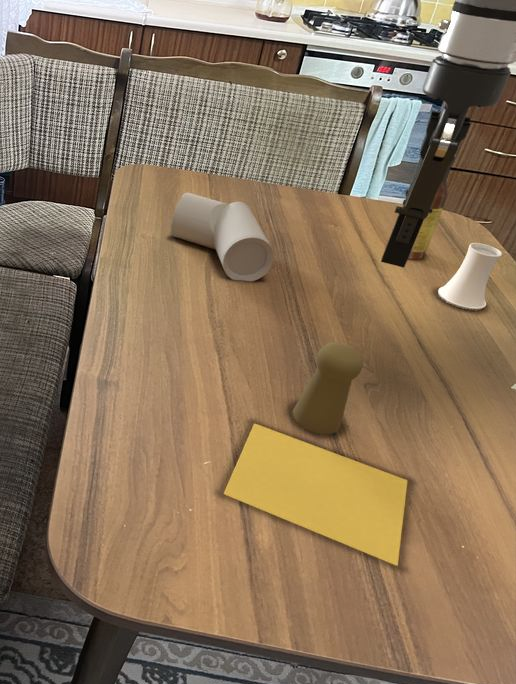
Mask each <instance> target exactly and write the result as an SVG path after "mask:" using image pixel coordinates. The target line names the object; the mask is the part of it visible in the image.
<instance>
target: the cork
mask: <svg viewBox="0 0 516 684" xmlns="http://www.w3.org/2000/svg"><path fill="white" fill-rule="evenodd" d="M315 364H316V369H315V371H314V373H313V375H312V377H310V379H309V381H308V383H307V385H306V387H305V389H304V390H303V392H302V394H301V395H300V397H299V399H298V400H297V403H296V404H295V406H294V408H293V410H292V417H293V418H294V420H295V422H297V423H298V424H299V426H301V427H303V428H304V429H306V430H307V431H309V432H313V433H316V434H320V435H331V434H335V433H337V432H338V431H340V429H341V426H342V422H343V417H344V414H345V409H346V405H347V401H348V397H349V394H350V390H351V385H352V381H353V380H355V379H356V378H357V377H358V376H360V374H361V372H362V369H363V367H364V360H363V357H362V354H361V353H360V351H358V350H357V349H355V348H354V347H353V346H351V345H349V344H346V343H342V342H329V343H327V344H325V345H323V346H322V347H321V348H320V349H319V350H318V353H317V354H316V358H315Z"/></svg>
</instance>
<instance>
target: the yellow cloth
mask: <svg viewBox="0 0 516 684" xmlns="http://www.w3.org/2000/svg"><path fill="white" fill-rule="evenodd" d="M238 457H239V458H238V460H237V462H236V465H235V467H234V469H233V471H232V473H231V476H230V478H229V480H228V483H227V485H226V487H225V489H224V492H223V495H224V496H227V497H229V498H231V499H232V498H233V499H234V500H237V501H239V502H241V503H244V504H246V505H248V506H251V507H253V508H256V509H258V510H261V511H263V512H266V513H268V514H270V515H273V516H275V517H277V518H280V519H282V520H285V521H287V522H289V523H292V524H294V525H296V526H299V527H301V528H304V529H307V530H309V531H311V532H314V533H316V534H318V535H321V536H323V537H326V538H327V539H330V540H333V541H336V542H337V543H341V544H343V545H344V546H348V547H349V548H352V549H354V550H357V551H360V552H362V553H364V554H367V555H369V556H372V557H374V558H376V559H379V560H381V561H384V562H386V563H389V564H390V565H392V566H393V565H394V566H395V567H398V566H399V558H400V550H401V539H402V531H403V523H404V515H405V506H406V498H407V497H406V496H407V489H408V488H407V487H408V479H406V478H402V477H400V476H397V475H395V474H392V473H389V472H387V471H383V470H381V469H379V468H375V467H373V466H370V465H367V464H366V463H362V462H359V461H357V460H354V459H352V458H349V457H346V456H343V455H340V454H338V453H335V452H333V451H330V450H327V449H324V448H322V447H319V446H317V445H314V444H311V443H308V442H305V441H303V440H300V439H298V438H295V437H292V436H289V435H287V434H284V433H282V432H278V431H277V430H273V429H271V428H269V427H265V426H263V425H261V424H257V423H255V422H254V423H253V426H252V428H251V430H250V432H249V434H248V437H247V439H246V441H245V444H244V446H243V448H242V451H241V453H240V455H239V456H238Z"/></svg>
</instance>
